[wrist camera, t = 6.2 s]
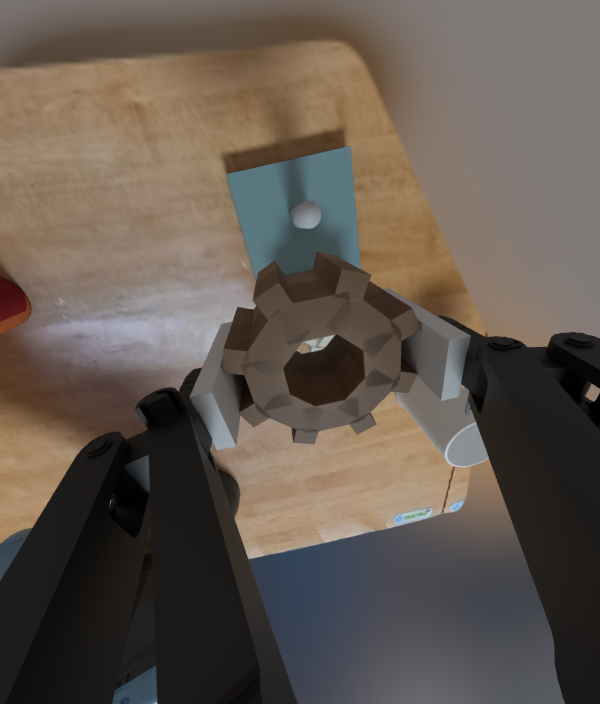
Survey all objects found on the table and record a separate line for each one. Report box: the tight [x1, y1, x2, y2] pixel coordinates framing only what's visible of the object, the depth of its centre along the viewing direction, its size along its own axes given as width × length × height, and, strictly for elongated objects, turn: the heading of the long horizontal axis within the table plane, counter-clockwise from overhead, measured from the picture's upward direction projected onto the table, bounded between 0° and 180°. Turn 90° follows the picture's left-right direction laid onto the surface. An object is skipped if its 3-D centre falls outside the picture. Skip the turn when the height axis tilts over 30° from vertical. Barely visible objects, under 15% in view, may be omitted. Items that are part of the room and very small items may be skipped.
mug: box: [396, 376, 489, 467], centre depth 34 cm, size 12×8×12 cm
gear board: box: [226, 146, 361, 344], centre depth 26 cm, size 12×19×8 cm, turn 12°
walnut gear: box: [222, 252, 421, 444], centre depth 13 cm, size 8×8×5 cm
